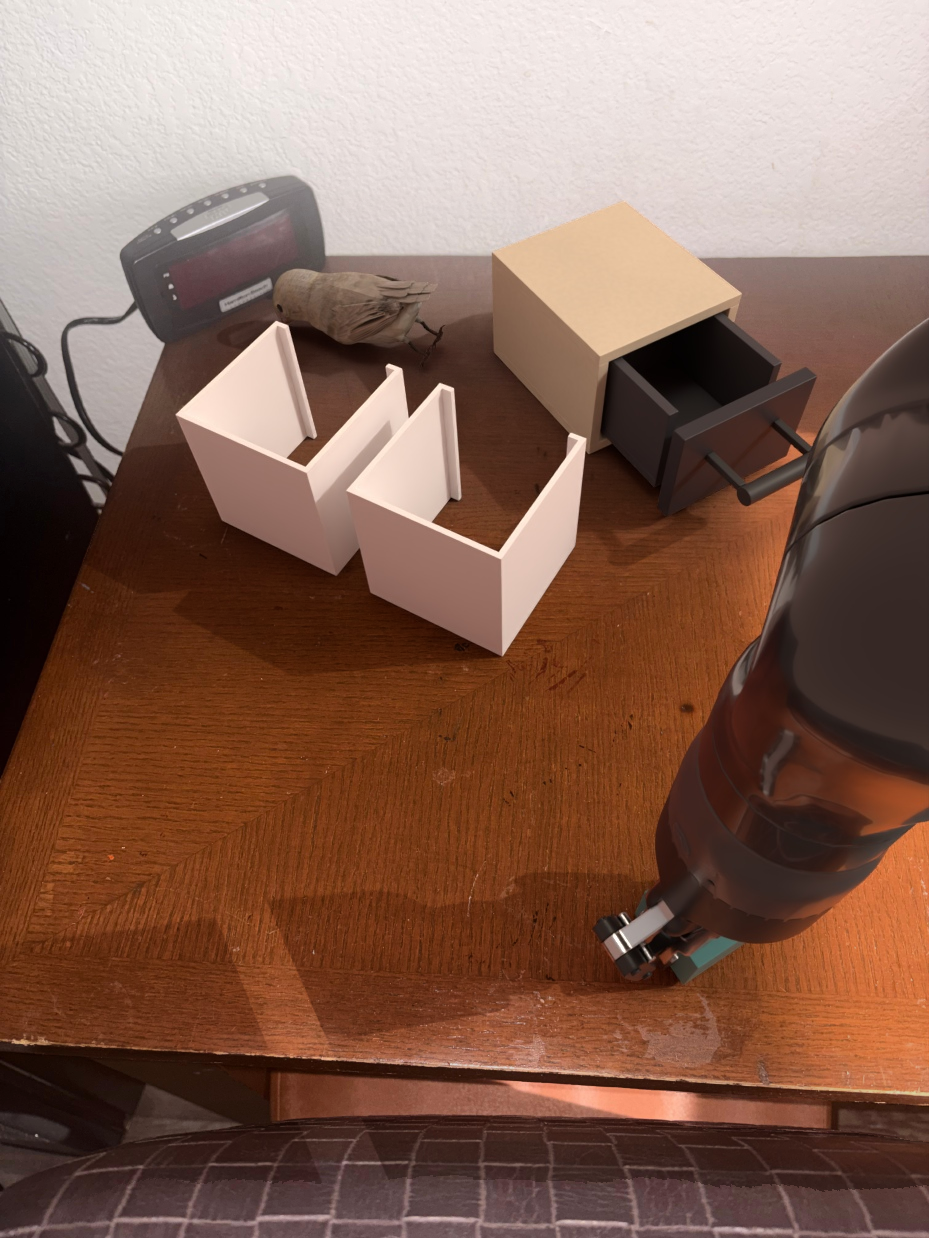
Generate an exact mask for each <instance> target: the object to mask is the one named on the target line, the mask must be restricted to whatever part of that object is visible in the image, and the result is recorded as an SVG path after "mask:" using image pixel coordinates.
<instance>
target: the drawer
mask: <svg viewBox="0 0 929 1238" xmlns="http://www.w3.org/2000/svg"><path fill="white" fill-rule="evenodd" d="M782 364H783V361H782V360H781V359H779V358H778V357H777V356H776V355H774V353H772V352H771V351H769V350H768V349H767V348H766V347H764V346H763V345H762V344H761V343H760V342H759V341H757V340H756V339H755V338H754V337H752V336H751V335H750V334H749V333H747V332H746V331H745V330H744V329H742V328H741V327H740V326H739V325H737V323H735V321H734V322H733V321H731V320H730V319H729V318H728V317H727V316H725V315H724V314H723V313H722V312H719V313H717V314H715V315H713V316H710V317H708V318H706V319H704V320H701V321H699V322H697V323H695V324H692V325H690V326H688V327H686V328H683V329H681V330H679V331H677V332H674V333H672V334H670V335H668V336H665V337H663V338H661V339H659V340H656V341H654V342H652V343H650V344H647V345H645V346H643V347H641V348H638V349H636V350H634V351H632V352H629V353H627V354H625V355H623V356H620V357H618V358H616V359H614V360H611V361H609V363H608V372H607V380H606V388H605V396H604V404H603V412H602V421H601V429H600V432H601V433H602V434H603V435H604V436H605V437H606V438H607V439H608V440H609V441H610V442H611V443H612V444H611V445H613V447H615V448H616V449H617V451H618V452H619V453H620V454H621V455H622V456H623V457H625V459H626V460H627V461H628V462H629V463H630V464H631V465H632V466H633V467H634V468H635V469H636V471H638V473H640V474H641V475H642V476H643V478H645V479H646V481H647V482H648V483H649V484H650V485H651V486H652V487H653V488H656V487H658V486H660V485H661V486H660V490H659V495H658V498H657V499H658V500H657V504H656V508H657V509H658V510H659V511H660V512H661V514H662V515H663V516H664V517H666V518H667V517H670V516H671V515H674V514H675V513H678V512H679V511H681V510H683V509H685V508H687V507H689V506H692V505H693V504H695V503H697V502H699V501H701V500H703V499H705V498H707V497H709V496H711V495H713V494H715V493H716V492H719V491H720V490H722V489H724V488H727V487H728V486H731V487H732V488H734V490H735V491H736V498H737V500H738V502H739V503H740V504H741V505H742V506H744V507H749V506H752V505H753V504H756V503H758V502H759V501H761V500H763V499H765V498H768V497H769V496H771V495H772V494H774V493H777V492H778V491H780V490H782V489H784V488H786V487H788V486H790V485H792V484H794V483H796V482H798V481H800V480H802V478H803V474H804V470H805V467H806V463H807V459H808V456H809V453H810V450H811V448H812V445H811V444H810V443H809V442H808V441H806V440H805V439H804V438H803V437H802V436H800V434H799V433H797V431H798V428H799V425H800V422H801V420H802V417H803V416H804V413H805V409H806V407H807V404H808V402H809V399H810V397H811V394H812V391H813V389H814V386H815V384H816V381H817V378H818V375H817V374H816V373H814V372H813V371H812V370H811V369H809V368H808V367H807V366H804V367H801V368H800V369H798V370H796V371H794V372H792V373H789V374H787V375H785V376H784V377H782V378H779V379H778V376H779V373H780V369H781V367H782ZM791 446H792V447H793V448H794V449H795V450H797V451H798V452H799V453H800V454H801V455H800V456H798V457H796V458H794V459H792V460H790V461H788V462H786V463H784V464H783V465H780V466H779V467H776V468H774V469H772V470H770V471H769V472H767V473H765V474H763V475H761V476H758V477H756V478H755V479H753V480H751V481H748V482H746V481H745V480H744V478H746V477H748V476H750V475H753V474H754V473H756V472H758V471H760V470H762V469H764V468H766V467H768V466H769V465H772V464H775V462H777V461H780V460H782V459H784V458H785V457H787V456H788V453H789V451H790V449H791Z"/></svg>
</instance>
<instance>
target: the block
mask: <svg viewBox="0 0 929 1238" xmlns="http://www.w3.org/2000/svg"><path fill="white" fill-rule="evenodd" d="M649 889H650V888H648V889H646V890H645V891H644V892H643V895H642V897H641V898H640V900H639V903H638V905H637V907H636V910H635V912H634V916H635V917H636V918H638V917H639V914H640V913H642V912H643V911H645V909H646V908H647V906H646V899H645V894H646V893H647V891H648V890H649ZM745 944H746V943H744V942H738V941H734V940H731V939H728V938H725V937H722V936H721V937H719V938H718V939H713V940H712V941H711V942H710V943H709V944H708V945H706V946H704V947H703V948H701V949H700V950H698V951H697V952H695V953H693V954H692V955H690V956H685V955H683V954H682V953H681V954H680V955H679V957H680V958H679V959H678V960H676V961H675V962H674V963H673V964H672V965H670V966H669V967H670V969H671V970H672V972H673V973H674V974H675V976H676V978H677V979H678V980H679V982H680V983H681V985H682V986H684V985H686V984H688V983H689V982H690V981H692V980H693V979H695V978H697V977H698V976H699V975H701V974H702V973H703V972H705V971H707V970H708V969H709V968H712V966H714V965H715V964H717V963H719V962H720V961H721V960H723V959H724V958H726V957H727V956H729V955H730V954H732V953H733V952H735V951H736V950H738V949H739V948H740V947H742V946H744V945H745Z"/></svg>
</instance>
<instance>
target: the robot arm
mask: <svg viewBox="0 0 929 1238" xmlns="http://www.w3.org/2000/svg"><path fill="white" fill-rule="evenodd" d="M811 446H812V448H811V450H810V453H809V456H808V459H807V463H806V467H805V470H804V474H803V478H802V479H801V481H800V487H799V491H798V495H797V498H796V502H795V506H794V509H793V510H794V511H793V514H792V517H791V522H790V526H789V530H788V533H787V538H786V541H785V545H784V549H783V553H782V557H781V560H780V565H779V569H778V571H777V575H776V579H775V584H774V587H773V590H772V594H771V598H770V602H769V605H768V609H767V613H766V615H765V618H764V622H763V625H762V629H761V631H760V634H759V635H758V636H757V637H756V638H755V639H754V640H752V641H751V643H749V645H747V646H746V647H745V649H744V650H743V651H742V652H741V654H740V655H739V656H738V657H737V659H736V661H735V662H734V664H733V665H732V667H731V668H730V669H729V671H728V673H727V675H726V677H725V679H724V681H723V683H722V685H721V686H720V689H719V690H718V692H717V697H716V699H715V701H714V704H713V707H712V708H711V710H710V713H709V716H708V717H707V720H706V723H705V724H704V725H703V726H702V728H701V729H700V730H699V731H698V733H697V734H696V736H695V737H694V738H693V740H692V741H691V743H690V744H689V746H688V748H687V750H686V752H685V753H684V756H683V758H682V761H681V763H680V765H679V768H678V771H677V773H676V775H675V778H674V780H673V783H672V784H671V788H670V790H669V793H668V795H667V797H666V800H665V802H664V805H663V807H662V809H661V813H660V815H659V817H658V820H657V825H656V829H655V835H654V836H655V837H654V850H655V852H654V853H655V861H656V866H657V871H658V878H657V880H656V881H655V882H654V883H653V885H652V886H650V887H649V888H648V889H649V890H648V889H647V890H648V891H647V890H646V891H647V893H646V894H645V899H646V906H647V908H646V909H645V911H643V912H642V913H640V914H639V917H638V918H637V917H636V918H635V919H634V920H632V919H631V917H630V916H629V915H628V912H627V911H624V910H623V911H622V912H620V913H618V915H616V914H614V913H612V914H609V915H608V916H606V915H603V916H601V917H600V918H599V919H598V920H596V924H595V925H594V926H593V927H591V930H592V931H593V933H594V935H595V936H596V938H597V939H598V941H599V942H600V944H601V945H602V947H603V949H604V951H606V954H607V955H608V956H609V958H610V959H611V961H612V963H613V964H614V966H615V967H616V969H617V970H618V972H619V973H620V975H621V977H622V978H623V979H624V980H629V981H631V982H636V983H637V982H639V981H641V980H642V979H643V981H646V980H648V979H649V978H651V977H652V976H653V972H654V971H655V970H656V969H657V968H658V969H659V970H660V971H661V972H662V971H664V970H666V969H667V968H669V967H670V965H672V964H673V963H674V962H675V961H676V960H678V959H679V958H680V957H679V955H680V954H681V953H682V954H683V955H685V956H690V955H692V954H693V953H695V952H697V951H698V950H700V949H701V948H703V947H704V946H706V945H708V944H709V943H710V942H711V941H712V940H713V939H718V938H719V937H721V936H722V937H725V938H728V939H731V940H734V941H738V942H744V943H745V944H754V945H763V944H764V945H765V944H766V945H767V944H773V943H778V942H782V941H783V942H784V941H787V940H788V939H789V940H790V939H792V938H793V937H794V938H795V937H796V936H799V935H800V934H801V933H804V932H805V931H806V930H807V929H809V928H810V927H811V926H812V925H814V924H815V923H816V922H817V921H818V920H820V919H821V918H822V917H823V916H825V914H827V913H828V912H830V911H831V910H832V909H833V908H834V907H835V906H836V905H838V904H839V903H840V902H841V901H842V900H843V899H845V897H847V896H848V895H849V894H850V893H852V892H853V891H854V890H855V889H856V888H857V887H859V886H860V885H861V884H862V883H863V882H865V881H866V880H867V878H868V877H870V876H871V874H872V873H873V872H874V871H875V870H876V869H877V867H878V866H879V865H880V863H881V861H882V860H883V858H884V857H885V855H886V854H887V853H888V850H889V849H890V847H891V846H892V845H894V844H895V843H896V842H897V841H898V840H900V839H901V838H902V837H903V836H904V835H906V834H907V832H909V831H910V830H911V829H913V828H914V827H915V826H916V825H917V824H921V823H926V822H927V823H928V822H929V317H927V318H925V319H924V320H922V321H921V322H920V323H919V324H917V325H915V326H914V327H913V328H912V329H911V330H909V331H907V332H906V333H905V334H904V335H902V336H901V337H900V338H899V339H898V340H896V341H895V342H894V343H893V344H892V345H890V346H889V347H888V348H887V349H886V350H885V351H883V352H882V353H881V354H880V355H879V356H878V357H877V358H876V359H875V360H874V361H873V362H872V363H871V364H870V365H869V366H868V367H867V368H866V369H865V370H864V371H863V372H862V373H861V374H860V375H859V377H857V378H856V380H855V381H854V382H853V383H852V384H851V385H850V386H849V388H847V390H846V391H845V392H844V393H843V395H842V396H841V397H840V398H839V399H838V401H837V402H836V403H835V404H834V406H833V407H832V408H831V410H830V411H829V413H828V415H827V417H826V418H825V420H824V421H823V423H822V425H821V426H820V428H819V430H818V431H817V433H816V435H815V438H814V440H813V442H812V445H811Z"/></svg>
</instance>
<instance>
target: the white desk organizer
mask: <svg viewBox="0 0 929 1238" xmlns="http://www.w3.org/2000/svg"><path fill="white" fill-rule="evenodd" d="M385 372H386V379H385V380H384V381H383V382H382V383H381V384H380V385H379V386H378V387H377V389H375V391H374V392H373V393H372V394H371V395H370V396H369V397H368V398H367V399H366V400H365V401H364V403H362V405H361V406H360V407H359V408H358V409H357V410H356V411H355V412H354V413H353V415H352V416H350V418H349V419H348V420H347V421H346V422H345V423H344V424H343V425H342V427H340V428H339V430H338V431H337V432H336V433H335V434H334V435H333V436H332V437H331V438H330V440H329V441H327V443H326V444H325V445H324V446H323V447H322V448H321V449H320V450H319V451H318V452H317V454H315V456H314V457H313V458H312V459H311V460H310V461H309V462H308V463H307V464H306V465H302V464H300V463H299V462H295V461H293V460H291V459H289V458H288V457H289V456H290V455H291V454H292V453H293V452H294V451H295V450H296V449H297V447H299V446H300V445H301V443H302V442H303V441H305V439H306V438H307V437H309V438H311V439H313V440H315V439H316V438H317V437H318V433H317V430H316V427H315V423H314V419H313V415H312V411H311V407H310V403H309V400H308V396H307V391H306V388H305V383H304V381H303V376H302V373H301V368H300V365H299V361H298V358H297V353H296V350H295V346H294V342H293V338H292V335H291V331H290V327H289V324H283V323H282V322H281V321H278V320H275V321H274V322H273V323H272V324H271V325H270V326H269V327H268V328H267V329H266V330H264V331H263V332H262V333H261V334H260V335H259V336H258V337H257V338H256V339H255V340H254V341H253V342H251V343H250V344H249V346H247V347H246V348H245V349H244V350H243V351H242V352H241V353H240V354H239V355H238V356H237V357H236V358H235V359H233V360H232V361H231V362H230V363H229V364H228V365H227V366H226V367H225V368H224V369H222V370H221V372H220V373H218V374H217V375H216V376H215V377H214V378H213V379H212V380H211V381H210V382H208V383H207V384H206V386H204V387H203V388H202V389H201V390H200V391H199V392H198V393H197V394H196V395H194V397H192V399H190V400H189V401H188V402H187V403H186V404H185V405H184V406H183V407H182V408H181V409H180V410H179V411H178V412H176V413H175V417H176V420H177V422H178V424H179V426H180V429H181V431H182V433H183V436H184V437H185V440H186V442H187V444H188V447H189V449H190V451H191V453H192V456H193V459H194V460H195V462H196V465H197V468H198V469H199V472H200V474H201V476H202V478H203V481H204V483H205V485H206V488H207V490H208V492H209V495H210V497H211V499H212V501H213V504H214V505H215V508H216V510H217V512H218V515H219V518H220V519H221V521H222V522H223V523H226V524H228V525H230V526H232V527H234V528H237V529H239V530H240V531H242V532H245V533H247V534H249V535H250V536H253V537H255V538H257V539H259V540H261V541H263V542H265V543H267V544H270V545H271V546H273V547H276V548H278V549H279V550H281V551H283V552H285V553H288V554H290V555H292V556H294V557H296V558H298V559H300V560H302V561H304V562H307V563H309V564H311V565H312V566H314V567H317V568H319V569H321V570H323V571H325V572H327V573H329V574H331V575H333V576H335V577H337V576H339V574H340V573H341V572H342V570H343V569H344V567H345V566H346V565H347V564H348V563H349V561H350V560H351V559H352V558H353V557H354V556H355V554H357V551H359V550H360V555H361V559H362V563H363V567H364V571H365V572H364V573H365V576H366V580H367V584H368V588H369V592H370V594H372V595H374V596H376V597H378V598H381V599H383V600H385V601H387V602H389V603H391V604H393V605H395V606H397V607H399V608H401V609H402V610H406V611H408V612H409V613H412V614H414V615H416V616H417V617H420V618H422V619H424V620H426V621H427V622H430V623H432V624H434V625H437V626H439V627H440V628H443V629H444V630H446V631H448V632H450V633H453V634H455V635H457V636H459V637H461V638H463V639H464V640H467V641H469V642H472V643H473V644H475V645H478V646H479V647H481V648H483V649H486V650H488V651H490V652H492V653H493V654H496V655H498V656H500V657H504V655H505V653H506V652H507V651H508V649H509V647H510V646H511V644H512V643H513V641H514V640H515V638H516V637H517V635H518V634H519V632H520V631H521V629H522V628H523V626H524V624H526V622H527V620H528V619H529V617H530V615H531V614H532V612H534V609H535V608H536V606H537V605H538V603H539V602H540V601H541V599H542V597H543V596H544V594H545V593H546V592H547V589H548V588H549V586H550V585H551V584H552V582H553V580H554V579H555V577H556V576H557V575H558V573H559V571H560V570H561V568H562V567H563V565H564V563H565V562H566V561H567V559H568V558H569V556H570V554H571V553H572V551H573V550H574V548H575V547H576V541H577V532H578V522H579V513H580V504H581V495H582V484H583V477H584V476H583V475H584V467H585V457H586V451H585V449H586V438H584V437H581V436H578V435H576V434H573V433H570V434H569V433H568V436H567V442H566V455H565V458H564V459H563V461H562V462H561V464H560V465H559V467H558V468H557V469H556V471H555V472H554V474H553V475H552V477H551V478H550V479H549V481H548V482H547V484H546V485H545V486H544V488H543V489H542V490H541V492H540V494H539V495H538V496H537V498H536V499H535V500H534V502H533V503H532V504H531V506H530V507H529V509H528V510H527V512H526V513H525V515H524V516H523V517H522V519H521V520H520V522H519V523H518V524H517V525H516V527H515V529H513V530H512V533H511V534H510V535H509V537H508V539H507V540H505V543H504V544H503V545H502V547H501V548H500V550H499V551H497V550H495V549H492V548H490V547H488V546H486V545H484V544H481V543H479V542H477V541H475V540H472V539H470V538H468V537H466V536H464V535H461V534H458V533H457V532H454V531H452V530H449V529H447V528H445V527H443V526H441V525H438V524H436V523H434V522H433V521H434V520H435V518H436V517H438V514H440V512H441V511H442V510H443V508H444V507H445V506H446V505H447V503H448V502H449V500H450V499H451V498H452V499H453V500H456V501H460V500H461V499H462V486H461V484H462V483H461V469H460V455H459V441H458V440H459V439H458V426H457V412H456V397H455V388H454V387H452V386H450V385H447V384H443V383H442V382H438V384H437V386H436V387H435V388H434V389H433V390H432V391H431V392H430V393H429V394H428V396H427V397H426V398H425V399H424V400H423V401H422V403H421V404H420V405H419V406H418V407H417V408H416V410H414V412H413V413H412V414H411V415H410V416H409V409H408V403H407V395H406V388H405V380H404V371H403V368H401V367H399V366H397V365H393V364H391V363H387V364H386V366H385Z"/></svg>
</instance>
